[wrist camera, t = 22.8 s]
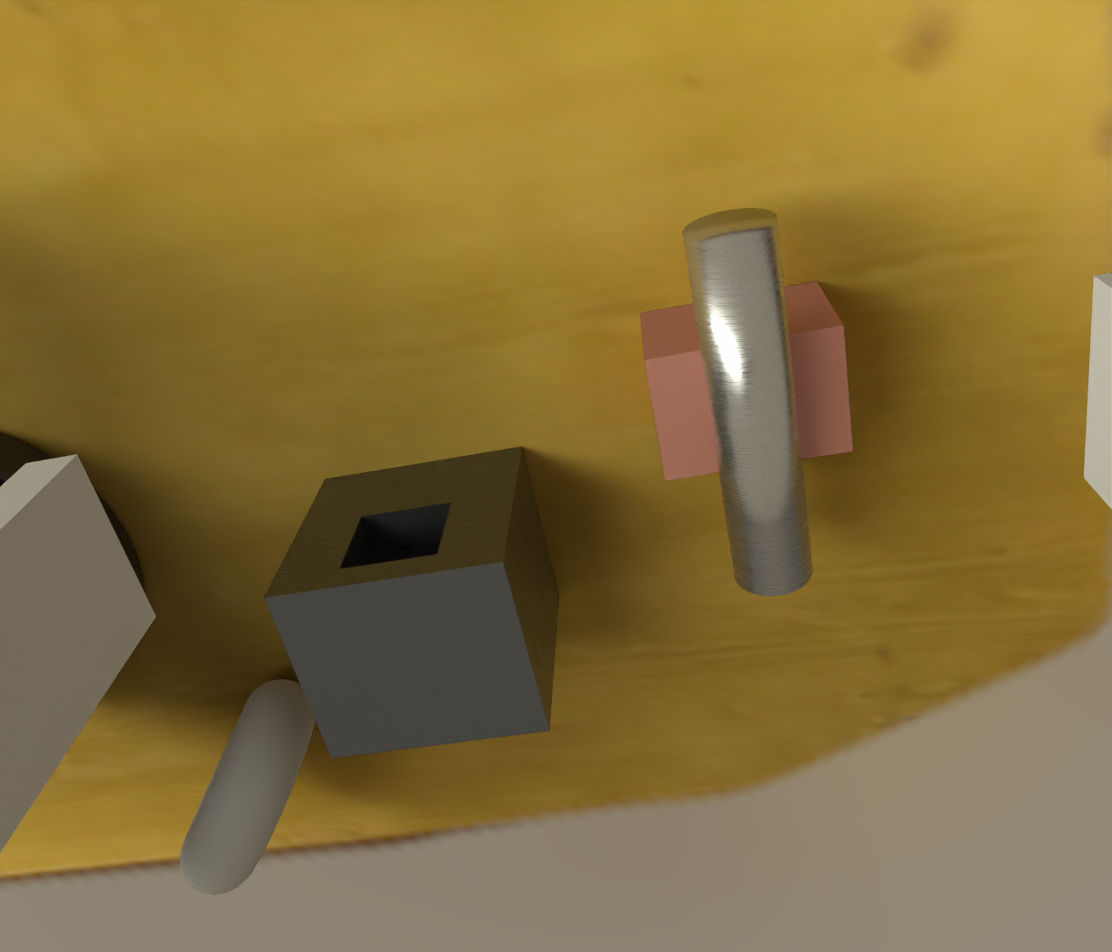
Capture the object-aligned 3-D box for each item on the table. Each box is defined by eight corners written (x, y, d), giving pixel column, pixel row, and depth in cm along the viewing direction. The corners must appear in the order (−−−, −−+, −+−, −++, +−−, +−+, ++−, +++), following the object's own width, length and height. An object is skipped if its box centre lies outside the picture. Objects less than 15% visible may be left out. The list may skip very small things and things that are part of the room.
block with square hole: (376, 622, 48) (331, 758, 40) (324, 479, 44) (263, 597, 36) (559, 596, 47) (549, 730, 39) (521, 446, 43) (502, 562, 35)
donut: (280, 783, 53) (216, 950, 45) (219, 760, 53) (142, 924, 44) (346, 654, 49) (289, 811, 40) (280, 627, 48) (208, 780, 39)
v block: (659, 423, 42) (665, 480, 38) (639, 313, 40) (644, 360, 35) (826, 396, 41) (852, 451, 37) (816, 281, 39) (843, 325, 34)
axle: (725, 559, 40) (746, 603, 37) (673, 223, 33) (695, 249, 30) (797, 541, 40) (824, 584, 37) (760, 201, 33) (790, 225, 30)
